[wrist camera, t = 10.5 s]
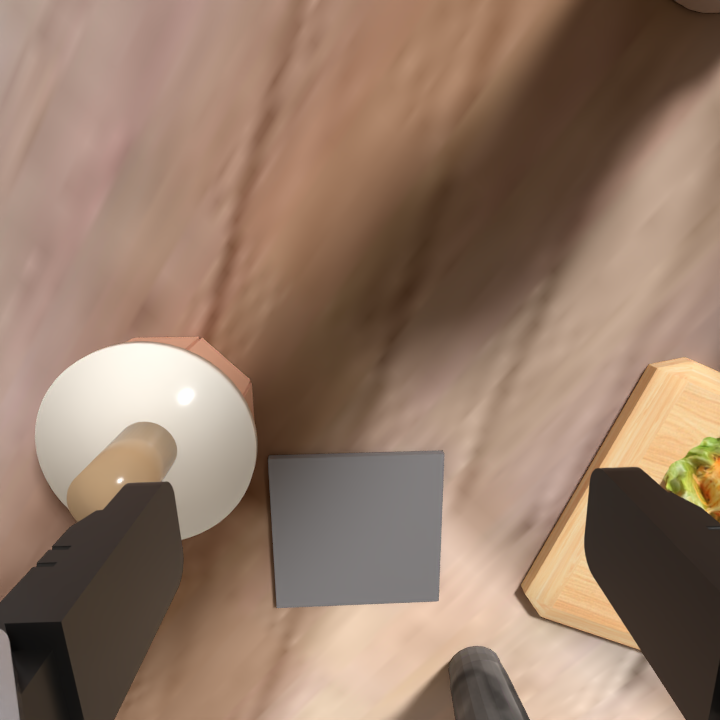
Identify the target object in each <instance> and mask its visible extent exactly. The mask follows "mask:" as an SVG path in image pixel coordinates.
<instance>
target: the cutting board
mask: <svg viewBox="0 0 720 720" xmlns="http://www.w3.org/2000/svg"><path fill="white" fill-rule="evenodd" d="M615 467H639V468H641V469H642V470H643V471H644V472H646V473H647V474H648V475H649V476H650V477H651V478H652V479H653V480H655V481H656V482H657V483H658V484H659V485H660V486H661V487H662V488H663V489H665V490H666V491H667V492H672V493H674V494H676V495H678V496H680V497H682V498H684V499H686V500H688V501H690V502H692V503H694V504H696V505H698V506H700V507H701V508H703V509H704V510H705V511H706V512H707V513H708V514H710V515H711V516H712V517H713V518H714V519H716V520H717V521H718V522H719V523H720V372H718V371H716V370H713V369H711V368H709V367H707V366H704V365H702V364H700V363H697V362H695V361H693V360H690V359H688V358H685V357H683V358H678V359H673V360H668V361H663V362H658V363H653V364H649V365H648V366H647V368H646V370H645V371H644V373H643V375H642V377H641V378H640V380H639V382H638V384H637V385H636V387H635V389H634V390H633V392H632V394H631V396H630V397H629V399H628V401H627V403H626V404H625V406H624V408H623V409H622V411H621V413H620V415H619V416H618V418H617V420H616V422H615V423H614V425H613V427H612V428H611V430H610V432H609V434H608V435H607V437H606V439H605V441H604V442H603V444H602V446H601V447H600V449H599V451H598V453H597V454H596V456H595V458H594V460H593V461H592V463H591V465H590V466H589V468H588V470H587V472H586V473H585V475H584V477H583V479H582V480H581V482H580V484H579V485H578V487H577V489H576V491H575V492H574V494H573V496H572V498H571V499H570V501H569V503H568V504H567V506H566V508H565V510H564V511H563V513H562V515H561V517H560V518H559V520H558V522H557V523H556V525H555V527H554V529H553V530H552V532H551V534H550V536H549V537H548V539H547V541H546V542H545V544H544V546H543V548H542V549H541V551H540V553H539V555H538V556H537V558H536V560H535V561H534V563H533V565H532V567H531V568H530V570H529V572H528V574H527V575H526V577H525V579H524V580H523V582H522V584H521V587H522V589H523V591H524V593H525V595H526V596H527V598H528V599H529V601H530V602H531V603H532V605H533V606H534V608H535V609H536V611H537V612H538V614H539V615H540V617H543V618H546V619H549V620H552V621H555V622H558V623H561V624H564V625H567V626H570V627H573V628H576V629H579V630H582V631H585V632H588V633H591V634H594V635H597V636H600V637H603V638H606V639H609V640H612V641H615V642H618V643H621V644H624V645H627V646H630V647H633V648H636V649H639V650H640V648H639V647H638V645H637V644H636V642H635V641H634V639H633V637H632V636H631V634H630V633H629V631H628V630H627V628H626V627H625V625H624V624H623V622H622V621H621V619H620V617H619V616H618V614H617V613H616V611H615V610H614V608H613V607H612V605H611V604H610V602H609V601H608V599H607V597H606V596H605V594H604V593H603V591H602V590H601V588H600V587H599V585H598V584H597V582H596V581H595V579H594V577H593V576H592V574H591V572H590V570H589V567H588V564H587V561H586V556H585V550H584V535H585V525H586V514H587V504H588V493H589V483H590V477H591V474H592V472H593V470H595V469H596V468H615Z"/></svg>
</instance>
